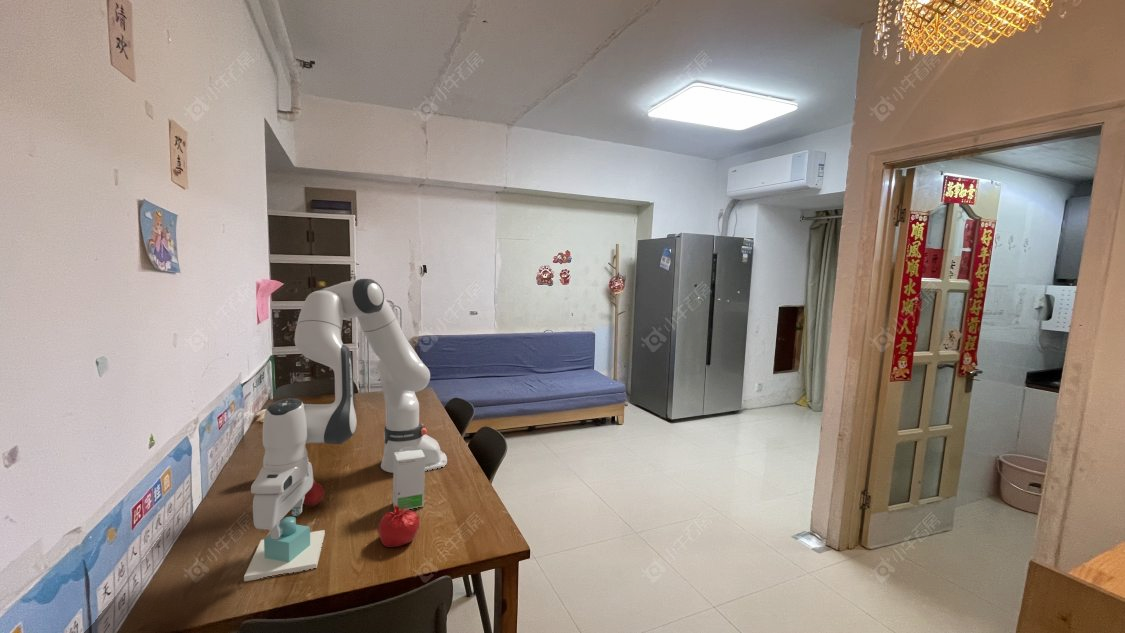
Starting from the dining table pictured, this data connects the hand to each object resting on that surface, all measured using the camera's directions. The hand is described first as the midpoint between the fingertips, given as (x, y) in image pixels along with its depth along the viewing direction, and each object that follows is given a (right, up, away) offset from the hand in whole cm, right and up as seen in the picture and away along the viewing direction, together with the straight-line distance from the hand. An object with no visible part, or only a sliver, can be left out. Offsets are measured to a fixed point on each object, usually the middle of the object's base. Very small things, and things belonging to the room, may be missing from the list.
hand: (287, 525), depth 105 cm
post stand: (0, -8, +1) cm, 8 cm away
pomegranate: (+23, -8, +9) cm, 26 cm away
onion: (-7, -6, +23) cm, 24 cm away
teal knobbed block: (0, -7, +1) cm, 7 cm away
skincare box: (+20, -6, +26) cm, 33 cm away
